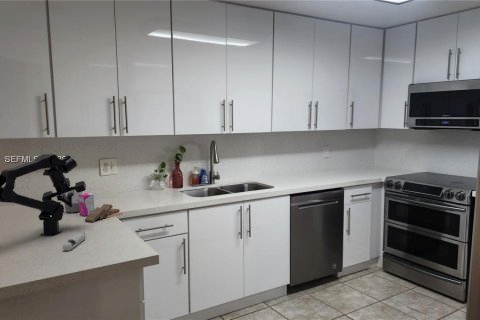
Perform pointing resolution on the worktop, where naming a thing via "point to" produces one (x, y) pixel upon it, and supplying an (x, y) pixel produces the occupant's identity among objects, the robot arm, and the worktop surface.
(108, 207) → the domino
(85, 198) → the supplement box
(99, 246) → the worktop surface
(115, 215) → the end domino
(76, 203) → the smart speaker
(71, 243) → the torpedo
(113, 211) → the domino
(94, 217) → the domino
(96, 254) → the worktop surface
